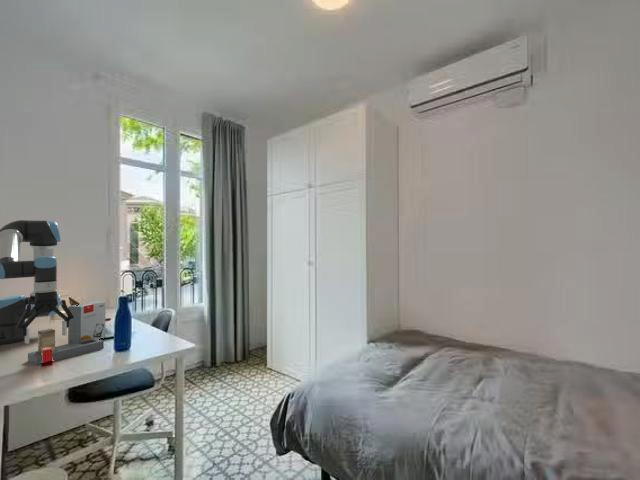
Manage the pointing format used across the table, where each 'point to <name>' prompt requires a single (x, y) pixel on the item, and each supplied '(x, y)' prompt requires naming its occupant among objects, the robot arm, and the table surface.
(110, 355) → the table surface
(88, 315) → the hard drive box
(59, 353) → the socket strip
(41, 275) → the robot arm
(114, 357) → the table surface
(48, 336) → the plug
